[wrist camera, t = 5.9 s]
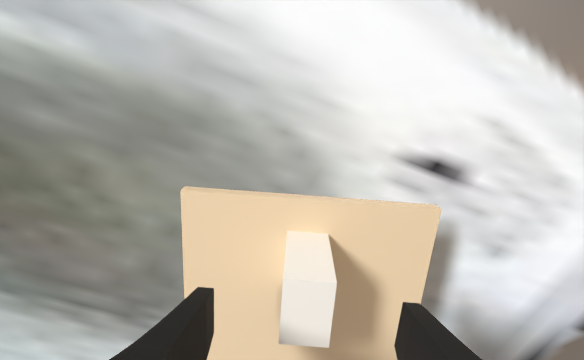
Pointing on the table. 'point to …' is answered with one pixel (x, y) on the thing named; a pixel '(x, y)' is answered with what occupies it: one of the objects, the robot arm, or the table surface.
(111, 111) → the table surface
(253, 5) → the table surface
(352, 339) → the lid
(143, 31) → the table surface
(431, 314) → the robot arm
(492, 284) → the table surface
